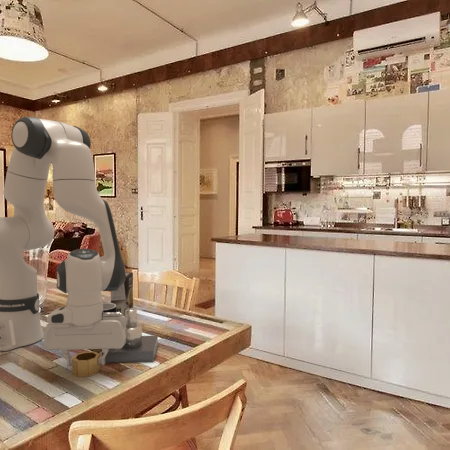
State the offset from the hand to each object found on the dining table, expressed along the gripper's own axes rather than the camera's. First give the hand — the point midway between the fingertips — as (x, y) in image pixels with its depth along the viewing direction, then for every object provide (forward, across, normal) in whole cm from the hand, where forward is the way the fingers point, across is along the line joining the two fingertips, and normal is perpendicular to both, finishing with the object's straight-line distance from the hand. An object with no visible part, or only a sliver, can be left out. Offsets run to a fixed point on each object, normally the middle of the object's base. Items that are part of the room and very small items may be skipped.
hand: (86, 364), depth 102 cm
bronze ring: (+2, 0, 0) cm, 2 cm away
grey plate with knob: (+2, -10, -11) cm, 15 cm away
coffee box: (+2, -1, -47) cm, 47 cm away
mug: (+2, +3, -25) cm, 25 cm away
